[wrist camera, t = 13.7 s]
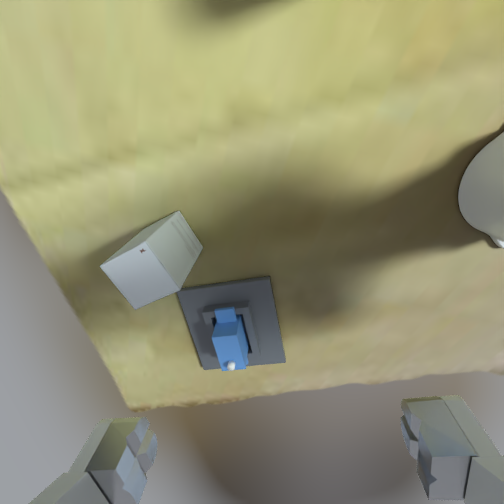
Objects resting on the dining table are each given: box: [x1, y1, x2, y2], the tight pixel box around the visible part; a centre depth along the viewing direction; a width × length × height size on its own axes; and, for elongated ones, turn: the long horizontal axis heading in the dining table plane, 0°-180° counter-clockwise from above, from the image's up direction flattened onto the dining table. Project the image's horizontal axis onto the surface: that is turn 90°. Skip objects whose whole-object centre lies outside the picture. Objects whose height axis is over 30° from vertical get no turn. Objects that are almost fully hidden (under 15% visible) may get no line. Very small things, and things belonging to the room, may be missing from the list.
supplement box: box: [100, 210, 203, 310], centre depth 40 cm, size 7×7×13 cm
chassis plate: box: [177, 276, 286, 370], centre depth 50 cm, size 16×18×3 cm
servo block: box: [212, 307, 249, 371], centre depth 47 cm, size 4×12×7 cm, turn 11°
